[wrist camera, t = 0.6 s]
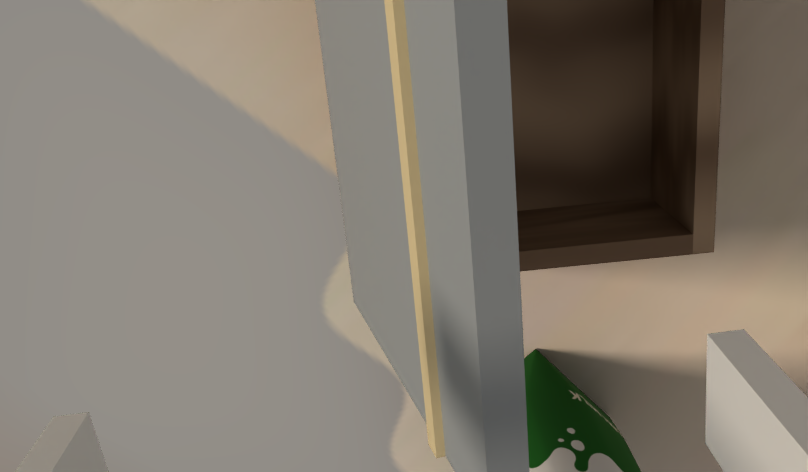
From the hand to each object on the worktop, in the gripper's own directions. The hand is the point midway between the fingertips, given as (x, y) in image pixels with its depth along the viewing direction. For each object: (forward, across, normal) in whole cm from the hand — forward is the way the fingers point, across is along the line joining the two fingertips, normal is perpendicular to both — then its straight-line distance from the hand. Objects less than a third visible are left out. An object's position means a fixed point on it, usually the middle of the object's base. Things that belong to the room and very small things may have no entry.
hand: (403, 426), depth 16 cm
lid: (+11, +1, +6) cm, 13 cm away
